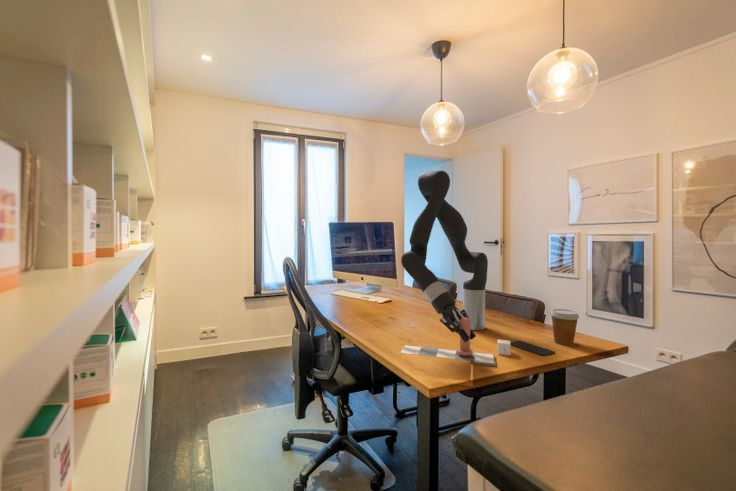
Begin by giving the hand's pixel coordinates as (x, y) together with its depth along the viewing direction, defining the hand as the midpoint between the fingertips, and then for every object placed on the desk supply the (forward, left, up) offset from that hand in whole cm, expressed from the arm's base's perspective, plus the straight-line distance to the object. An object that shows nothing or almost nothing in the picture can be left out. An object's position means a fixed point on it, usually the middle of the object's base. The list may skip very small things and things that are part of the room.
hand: (470, 339), depth 113 cm
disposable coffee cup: (-30, +34, -7) cm, 46 cm away
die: (-11, +11, -7) cm, 17 cm away
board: (-1, -8, -7) cm, 10 cm away
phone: (-19, +21, -7) cm, 29 cm away
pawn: (-1, -2, -5) cm, 5 cm away
